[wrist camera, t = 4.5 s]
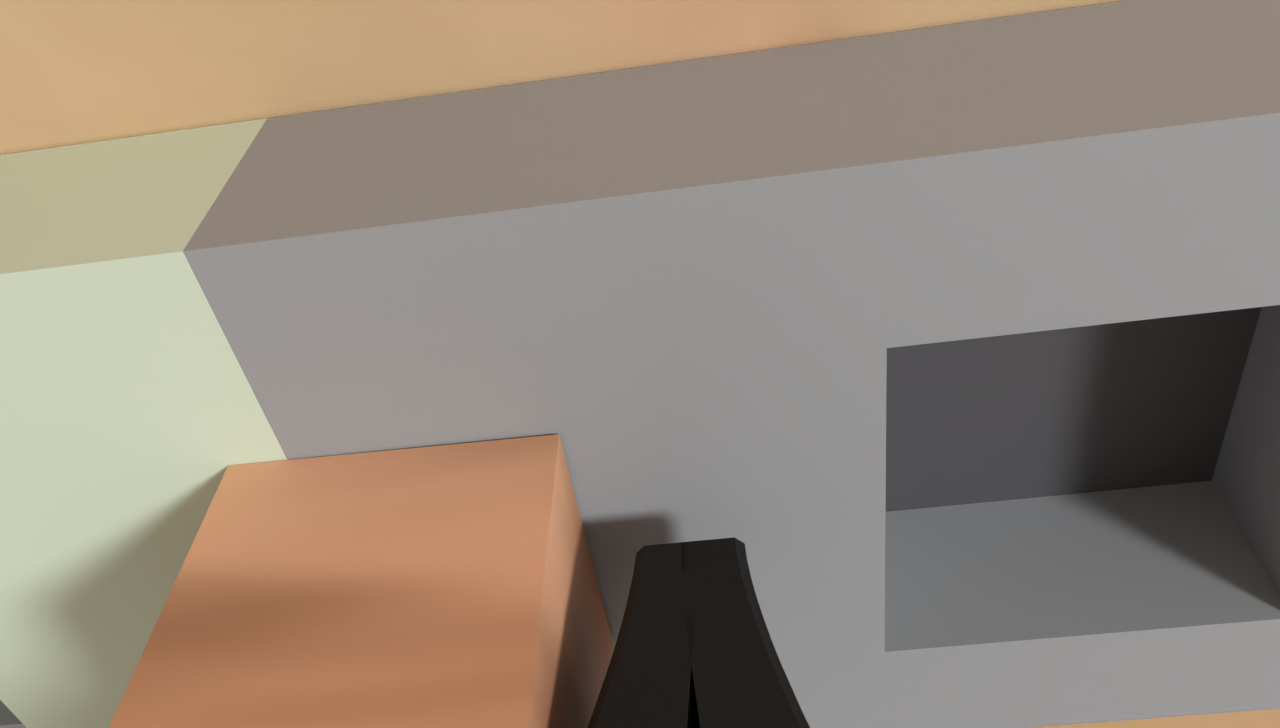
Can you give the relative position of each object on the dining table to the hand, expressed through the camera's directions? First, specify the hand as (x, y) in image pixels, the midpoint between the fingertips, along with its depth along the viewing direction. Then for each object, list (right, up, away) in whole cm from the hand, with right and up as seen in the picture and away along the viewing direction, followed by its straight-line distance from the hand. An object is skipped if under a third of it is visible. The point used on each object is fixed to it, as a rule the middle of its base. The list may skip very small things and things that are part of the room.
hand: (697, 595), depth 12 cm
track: (-4, +2, +3) cm, 6 cm away
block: (-3, 0, +1) cm, 3 cm away
